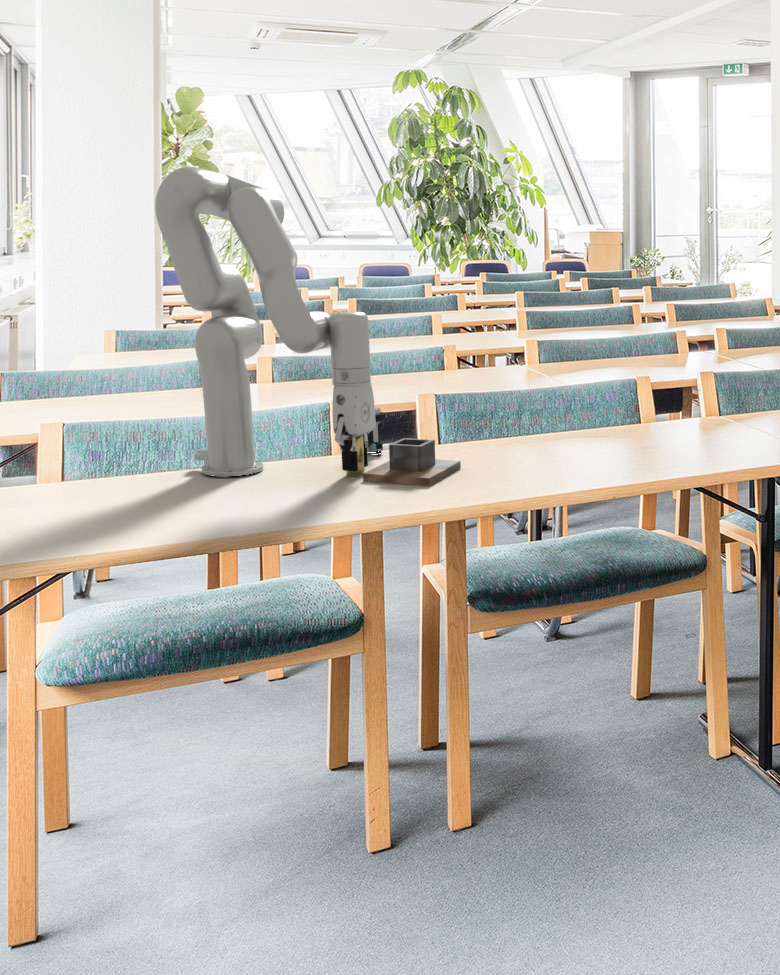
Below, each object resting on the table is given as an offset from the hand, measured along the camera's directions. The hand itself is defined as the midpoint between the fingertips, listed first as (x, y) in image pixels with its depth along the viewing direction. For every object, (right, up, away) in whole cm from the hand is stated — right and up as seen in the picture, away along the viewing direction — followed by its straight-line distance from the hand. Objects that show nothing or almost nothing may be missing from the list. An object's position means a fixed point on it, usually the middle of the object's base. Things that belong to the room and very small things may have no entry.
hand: (355, 467), depth 186 cm
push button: (+4, +3, +19) cm, 20 cm away
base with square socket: (+12, -1, -1) cm, 12 cm away
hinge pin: (0, -1, 0) cm, 1 cm away
